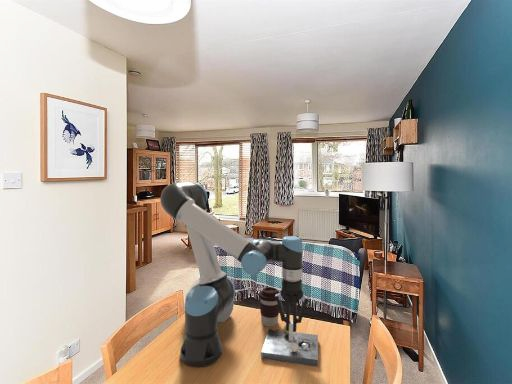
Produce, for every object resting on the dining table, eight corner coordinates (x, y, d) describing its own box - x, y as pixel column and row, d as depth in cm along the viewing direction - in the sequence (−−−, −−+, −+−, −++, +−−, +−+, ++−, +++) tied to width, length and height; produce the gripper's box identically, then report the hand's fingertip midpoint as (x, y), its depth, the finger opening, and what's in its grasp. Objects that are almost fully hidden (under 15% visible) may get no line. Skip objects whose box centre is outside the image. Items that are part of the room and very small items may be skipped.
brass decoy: (282, 336, 116) (282, 327, 116) (283, 331, 120) (284, 322, 120) (292, 338, 115) (293, 328, 115) (293, 332, 119) (293, 323, 119)
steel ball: (299, 352, 110) (301, 344, 110) (300, 347, 113) (302, 339, 113) (308, 355, 109) (310, 347, 109) (308, 350, 112) (310, 342, 112)
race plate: (261, 358, 106) (261, 352, 106) (268, 334, 122) (268, 329, 122) (317, 366, 102) (317, 359, 102) (317, 341, 118) (317, 335, 118)
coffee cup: (279, 329, 126) (279, 295, 125) (256, 326, 128) (256, 293, 127) (281, 318, 136) (282, 286, 135) (260, 316, 138) (261, 284, 137)
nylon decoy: (289, 353, 106) (289, 345, 105) (290, 348, 109) (290, 340, 108) (297, 354, 105) (298, 346, 105) (298, 349, 108) (298, 341, 108)
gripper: (273, 280, 108) (272, 342, 109) (309, 283, 105) (308, 347, 107) (275, 273, 115) (275, 331, 117) (309, 276, 113) (308, 335, 114)
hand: (291, 339), depth 112 cm, fingers closed
